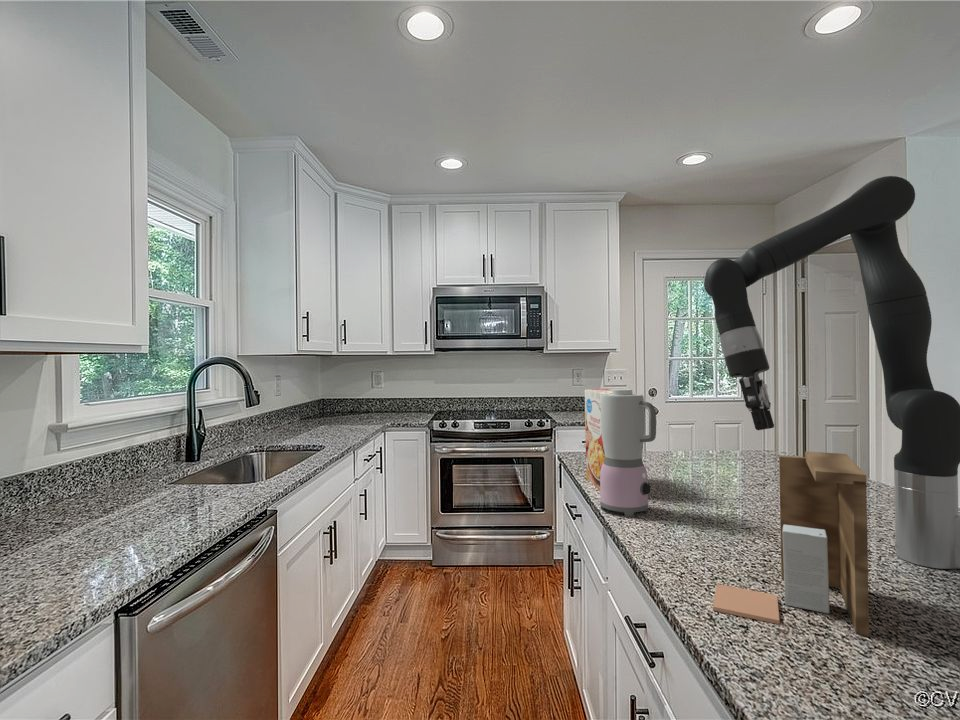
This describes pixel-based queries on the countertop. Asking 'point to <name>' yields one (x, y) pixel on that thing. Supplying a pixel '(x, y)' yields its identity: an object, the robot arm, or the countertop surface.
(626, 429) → the blender
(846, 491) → the walnut cubby
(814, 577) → the skincare box
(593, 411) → the pasta box
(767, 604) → the terracotta tile
